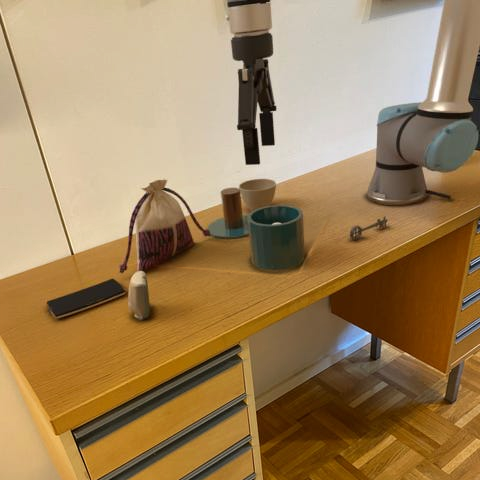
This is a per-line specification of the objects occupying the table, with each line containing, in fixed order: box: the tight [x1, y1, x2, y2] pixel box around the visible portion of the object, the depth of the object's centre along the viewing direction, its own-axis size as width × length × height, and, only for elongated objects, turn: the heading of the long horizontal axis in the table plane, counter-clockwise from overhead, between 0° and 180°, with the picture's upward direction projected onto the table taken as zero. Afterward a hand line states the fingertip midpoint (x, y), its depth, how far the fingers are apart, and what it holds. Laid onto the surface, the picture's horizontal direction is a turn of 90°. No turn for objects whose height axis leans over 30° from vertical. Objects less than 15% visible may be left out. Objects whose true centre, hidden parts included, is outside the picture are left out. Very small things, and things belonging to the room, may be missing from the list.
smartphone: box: [46, 278, 127, 319], centre depth 101 cm, size 7×1×15 cm
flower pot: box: [238, 178, 277, 212], centre depth 133 cm, size 10×10×7 cm
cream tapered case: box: [127, 270, 151, 321], centre depth 92 cm, size 6×5×8 cm
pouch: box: [118, 178, 212, 274], centre depth 109 cm, size 25×8×19 cm, turn 138°
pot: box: [247, 204, 306, 271], centre depth 105 cm, size 12×12×10 cm
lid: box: [206, 187, 249, 240], centre depth 122 cm, size 14×14×10 cm
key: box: [349, 216, 388, 241], centre depth 113 cm, size 12×1×3 cm, turn 124°
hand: (261, 154), depth 99 cm, fingers open, 13 cm apart
